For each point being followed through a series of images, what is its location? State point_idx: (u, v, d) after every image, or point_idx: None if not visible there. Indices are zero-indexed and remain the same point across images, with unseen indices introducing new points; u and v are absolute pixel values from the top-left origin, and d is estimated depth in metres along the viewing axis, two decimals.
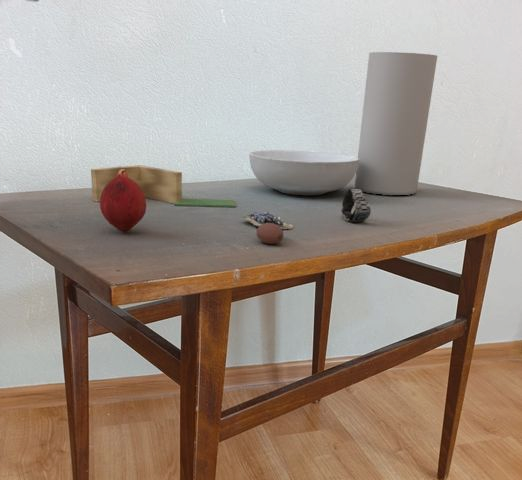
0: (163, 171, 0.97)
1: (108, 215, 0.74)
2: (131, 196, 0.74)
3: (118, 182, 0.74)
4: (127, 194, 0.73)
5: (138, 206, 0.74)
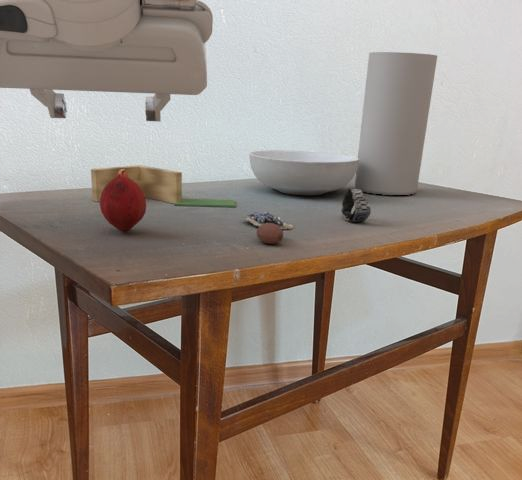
0: (163, 171, 0.97)
1: (108, 215, 0.74)
2: (131, 196, 0.74)
3: (118, 182, 0.74)
4: (127, 194, 0.73)
5: (138, 207, 0.74)
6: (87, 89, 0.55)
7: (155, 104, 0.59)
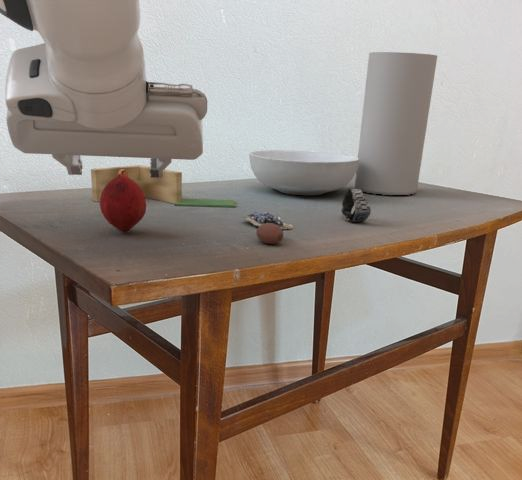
0: (163, 171, 0.97)
1: (108, 215, 0.74)
2: (131, 196, 0.74)
3: (118, 182, 0.74)
4: (127, 194, 0.73)
5: (138, 206, 0.74)
6: (100, 155, 0.65)
7: (158, 164, 0.68)
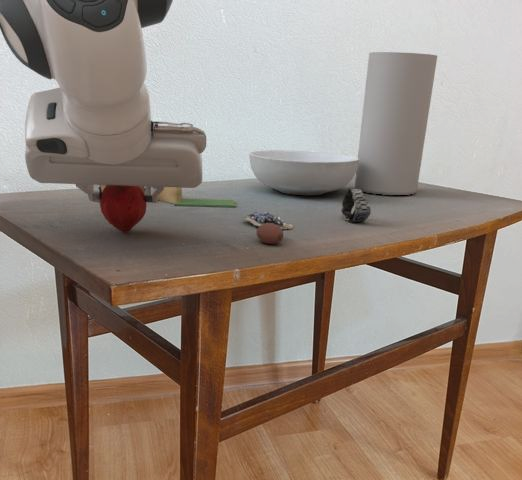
0: None
1: (108, 215, 0.74)
2: (131, 197, 0.74)
3: None
4: (127, 194, 0.73)
5: (138, 207, 0.74)
6: (109, 184, 0.71)
7: (152, 191, 0.75)
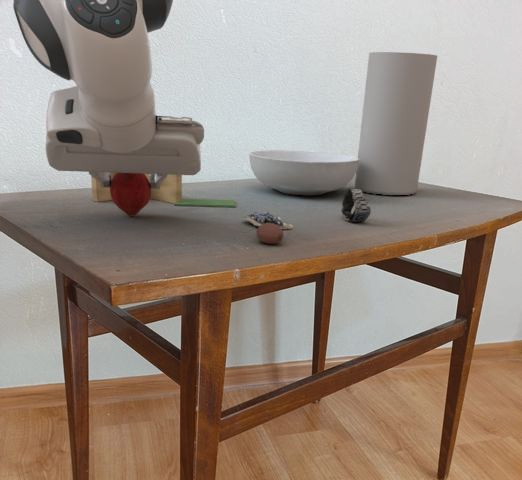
0: None
1: (117, 200, 0.84)
2: (138, 183, 0.83)
3: None
4: (134, 181, 0.83)
5: (144, 192, 0.84)
6: (118, 172, 0.80)
7: (156, 178, 0.84)
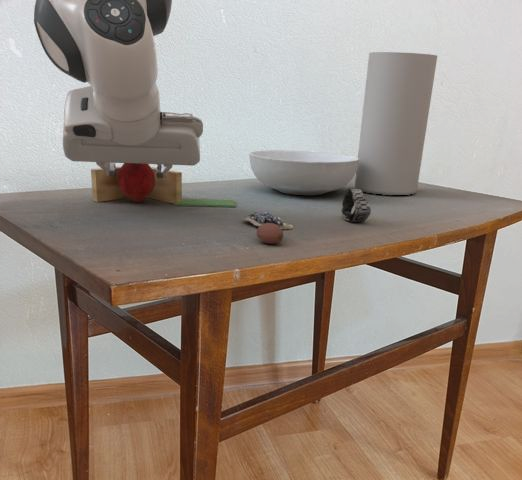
0: None
1: (125, 188, 0.93)
2: (143, 173, 0.93)
3: None
4: (140, 171, 0.92)
5: (148, 181, 0.93)
6: (126, 162, 0.90)
7: (163, 168, 0.94)
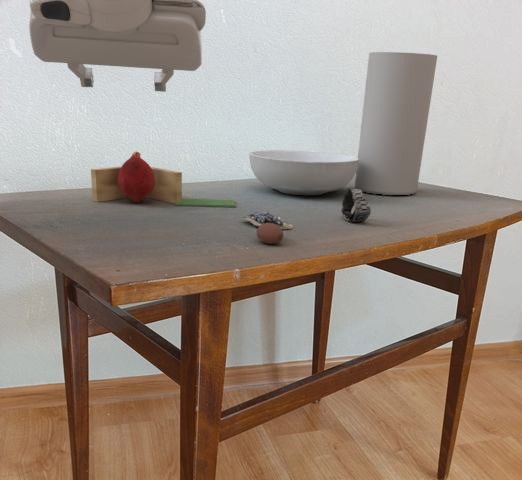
0: (163, 171, 0.97)
1: (125, 188, 0.93)
2: (143, 173, 0.93)
3: (133, 161, 0.93)
4: (140, 171, 0.92)
5: (148, 181, 0.93)
6: (110, 64, 0.73)
7: (162, 78, 0.77)
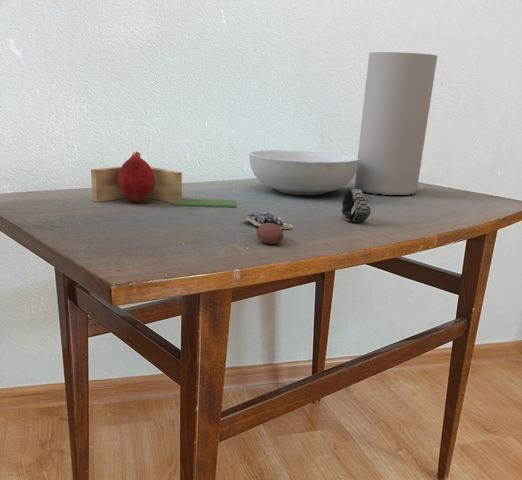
0: (163, 171, 0.97)
1: (125, 188, 0.93)
2: (143, 173, 0.93)
3: (133, 161, 0.93)
4: (139, 171, 0.92)
5: (148, 181, 0.93)
6: None
7: None
